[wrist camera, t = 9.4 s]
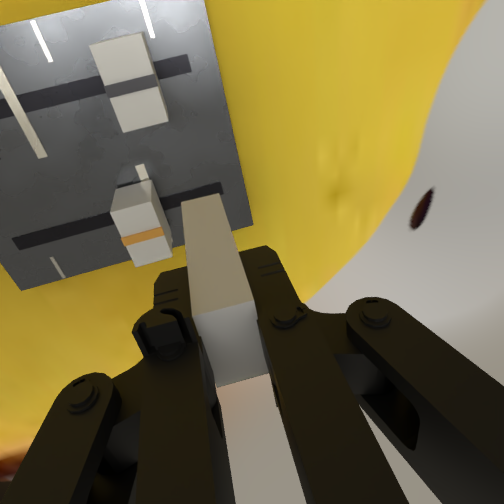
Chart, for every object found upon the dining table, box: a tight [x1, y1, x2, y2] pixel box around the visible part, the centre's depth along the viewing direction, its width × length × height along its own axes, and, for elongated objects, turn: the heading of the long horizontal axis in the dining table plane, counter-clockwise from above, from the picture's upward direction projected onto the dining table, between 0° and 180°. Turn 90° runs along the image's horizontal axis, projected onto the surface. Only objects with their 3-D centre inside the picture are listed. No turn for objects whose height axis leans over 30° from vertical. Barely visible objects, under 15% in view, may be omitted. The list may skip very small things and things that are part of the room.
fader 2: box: [110, 179, 173, 267], centre depth 29 cm, size 3×5×5 cm, turn 11°
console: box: [0, 0, 253, 291], centre depth 29 cm, size 22×19×2 cm
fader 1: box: [89, 31, 169, 133], centre depth 24 cm, size 3×5×4 cm, turn 11°
